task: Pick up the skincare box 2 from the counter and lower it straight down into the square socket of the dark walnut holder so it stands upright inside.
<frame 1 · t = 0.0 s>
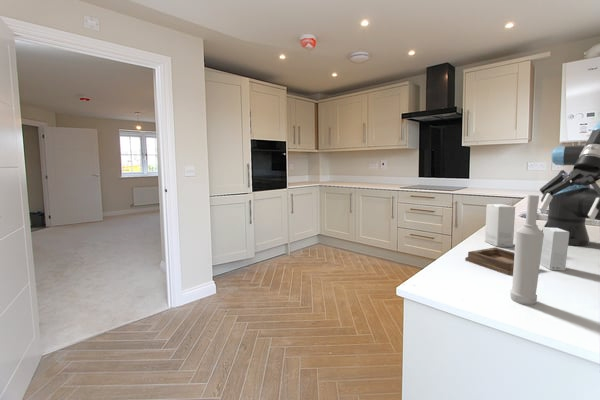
hand: (564, 214, 101), 15 cm above the worktop, tool tilted 35°, fingers open, 13 cm apart
skincare box 2: (551, 267, 96), on the worktop
bottle: (522, 301, 73), on the worktop
skincare box: (497, 244, 121), on the worktop
serum holder: (500, 264, 98), on the worktop
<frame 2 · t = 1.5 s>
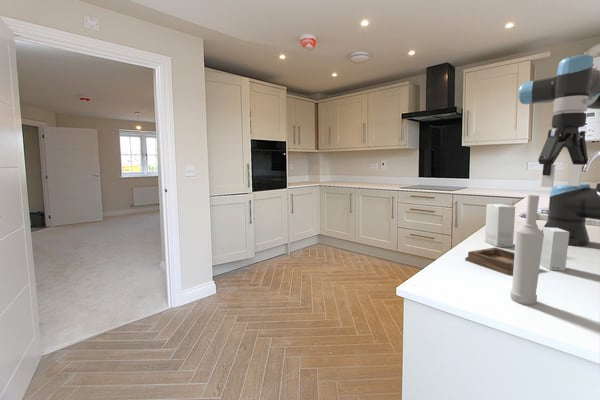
hand: (560, 186, 93), 25 cm above the worktop, tool pointing down, fingers open, 13 cm apart
nothing on the worktop moved.
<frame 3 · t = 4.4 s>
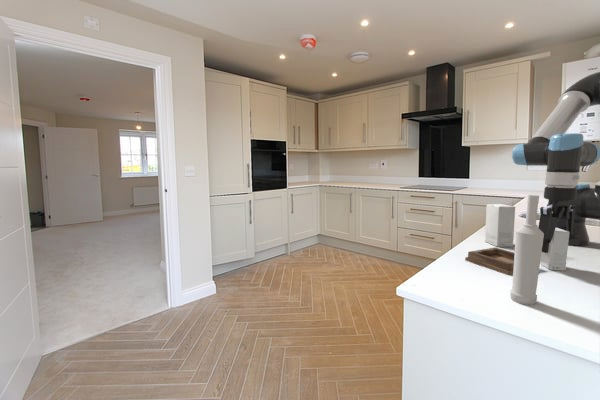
hand: (552, 260, 95), 2 cm above the worktop, tool pointing down, fingers closed on skincare box 2, 7 cm apart
skincare box 2: (551, 267, 96), on the worktop, touching gripper
everything else where it was.
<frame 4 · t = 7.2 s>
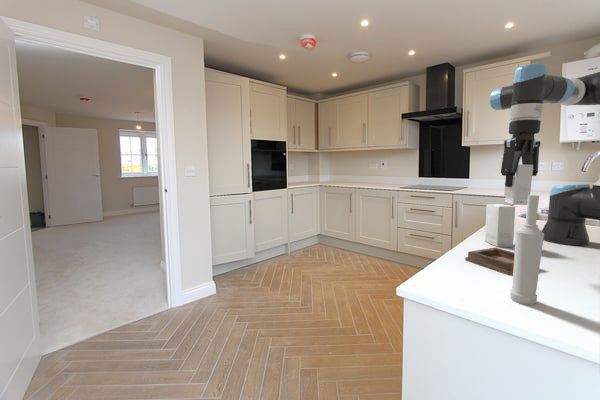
hand: (517, 197, 95), 22 cm above the worktop, tool pointing down, fingers closed on skincare box 2, 7 cm apart
skincare box 2: (516, 204, 95), point 19 cm above the worktop, touching gripper
everything else where it was.
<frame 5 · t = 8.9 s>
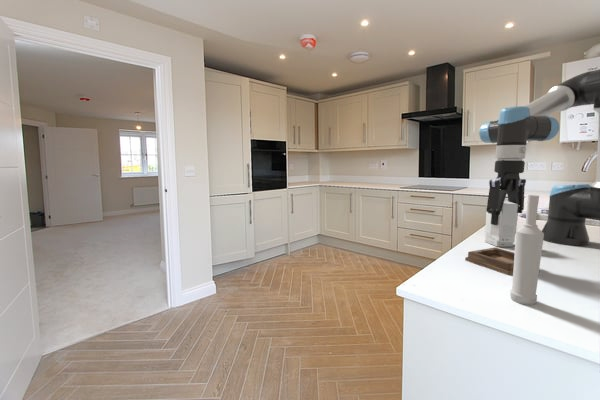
hand: (503, 233, 97), 10 cm above the worktop, tool pointing down, fingers closed on skincare box 2, 7 cm apart
skincare box 2: (502, 240, 97), point 8 cm above the worktop, touching gripper
everything else where it was.
when the fingers open (5 cm above the worktop, at t = 10.2 s): skincare box 2 drops 2 cm, resting on serum holder.
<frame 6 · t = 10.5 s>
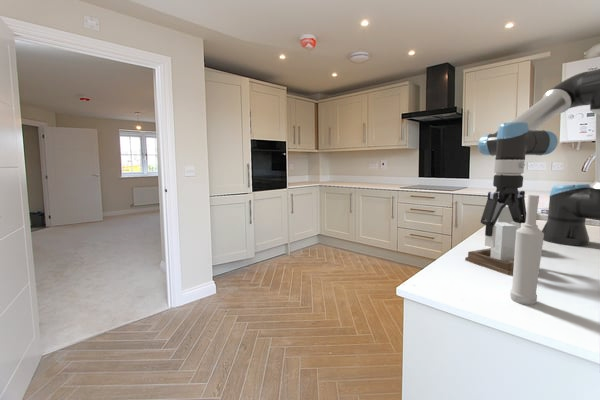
hand: (502, 244, 97), 6 cm above the worktop, tool pointing down, fingers open, 11 cm apart
skincare box 2: (501, 261, 98), point 1 cm above the worktop, touching serum holder
everything else where it was.
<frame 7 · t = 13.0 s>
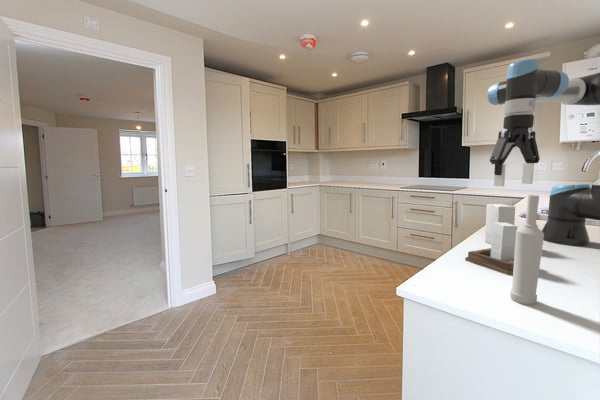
hand: (513, 184, 97), 25 cm above the worktop, tool pointing down, fingers open, 13 cm apart
nothing on the worktop moved.
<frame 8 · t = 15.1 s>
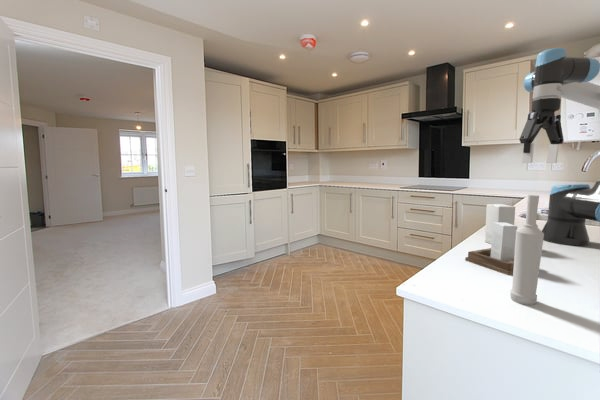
hand: (539, 163, 106), 32 cm above the worktop, tool pointing down, fingers open, 13 cm apart
nothing on the worktop moved.
at the end: skincare box 2 0.4 cm off-centre on the serum holder, point 0.8 cm above the serum holder's base; skincare box 2 tilted 0°; the gripper is holding nothing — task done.
